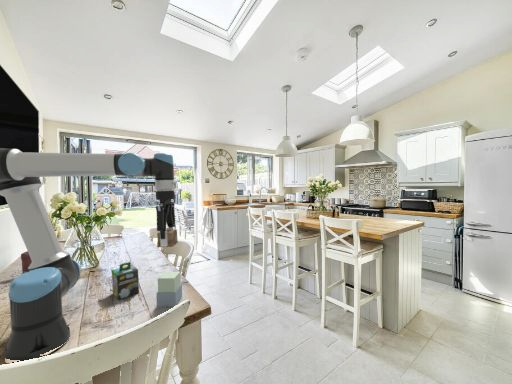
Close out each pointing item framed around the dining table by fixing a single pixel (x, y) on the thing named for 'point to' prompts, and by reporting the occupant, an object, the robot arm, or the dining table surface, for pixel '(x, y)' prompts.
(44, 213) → the robot arm
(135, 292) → the chalk box
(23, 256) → the can
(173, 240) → the walnut block
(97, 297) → the dining table surface
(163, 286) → the sage block
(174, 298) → the slate block
